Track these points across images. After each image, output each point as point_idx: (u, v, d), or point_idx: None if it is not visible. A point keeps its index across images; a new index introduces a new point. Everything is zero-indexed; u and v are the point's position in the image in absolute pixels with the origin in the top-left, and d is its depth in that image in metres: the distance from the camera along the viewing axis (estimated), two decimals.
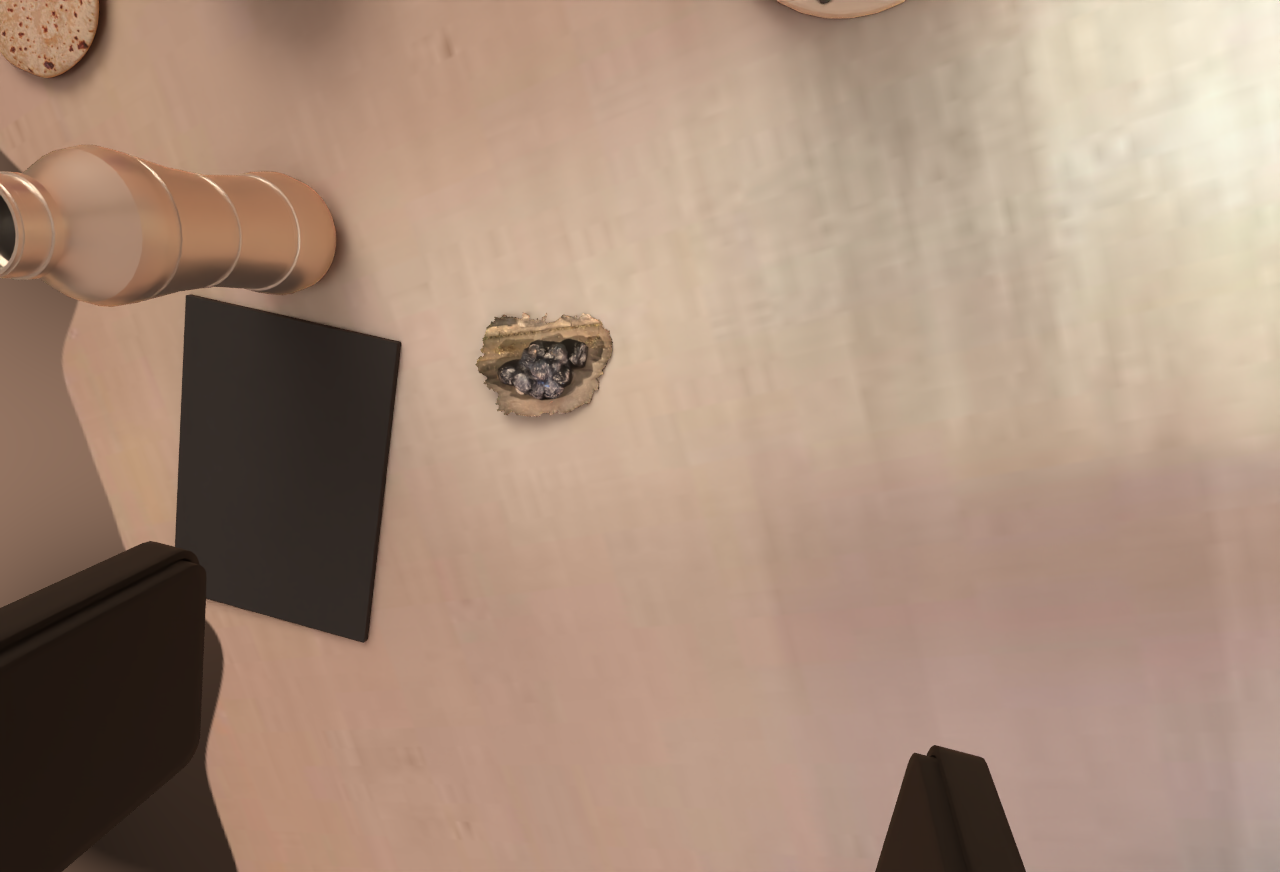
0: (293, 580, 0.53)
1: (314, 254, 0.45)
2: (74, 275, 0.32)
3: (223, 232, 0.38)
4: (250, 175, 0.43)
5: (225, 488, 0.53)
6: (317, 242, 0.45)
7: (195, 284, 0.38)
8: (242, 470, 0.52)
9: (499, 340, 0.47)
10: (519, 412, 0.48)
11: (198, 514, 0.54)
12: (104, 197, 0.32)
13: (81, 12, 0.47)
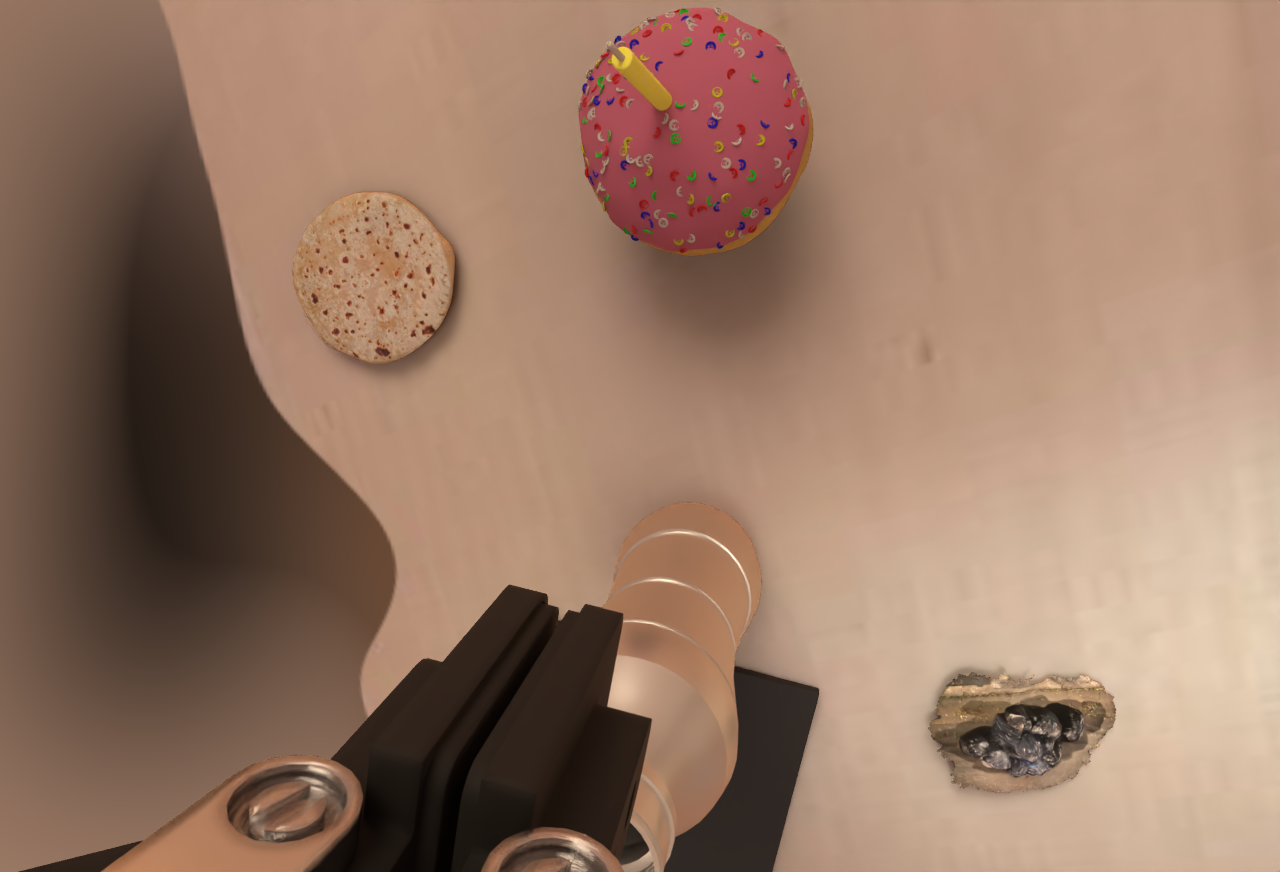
0: None
1: (752, 615, 0.35)
2: None
3: None
4: (689, 531, 0.33)
5: None
6: None
7: None
8: None
9: (961, 700, 0.37)
10: (981, 786, 0.38)
11: None
12: (693, 740, 0.22)
13: (432, 293, 0.37)
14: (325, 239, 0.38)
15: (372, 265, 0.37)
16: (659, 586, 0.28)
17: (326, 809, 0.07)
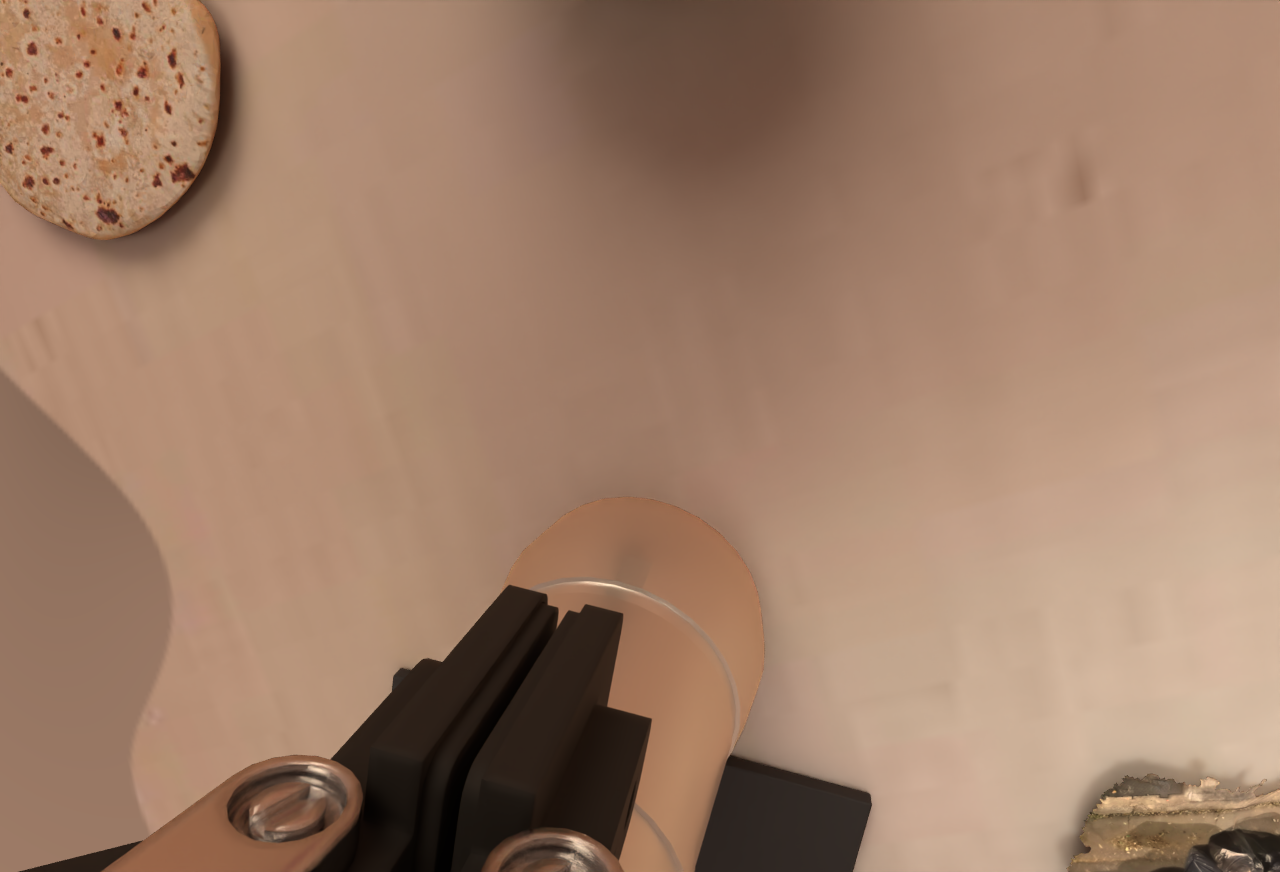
0: None
1: (747, 715, 0.19)
2: None
3: None
4: (611, 582, 0.16)
5: None
6: (752, 684, 0.19)
7: None
8: None
9: (1127, 821, 0.21)
10: None
11: None
12: None
13: (181, 103, 0.21)
14: None
15: (77, 56, 0.21)
16: None
17: (325, 809, 0.07)
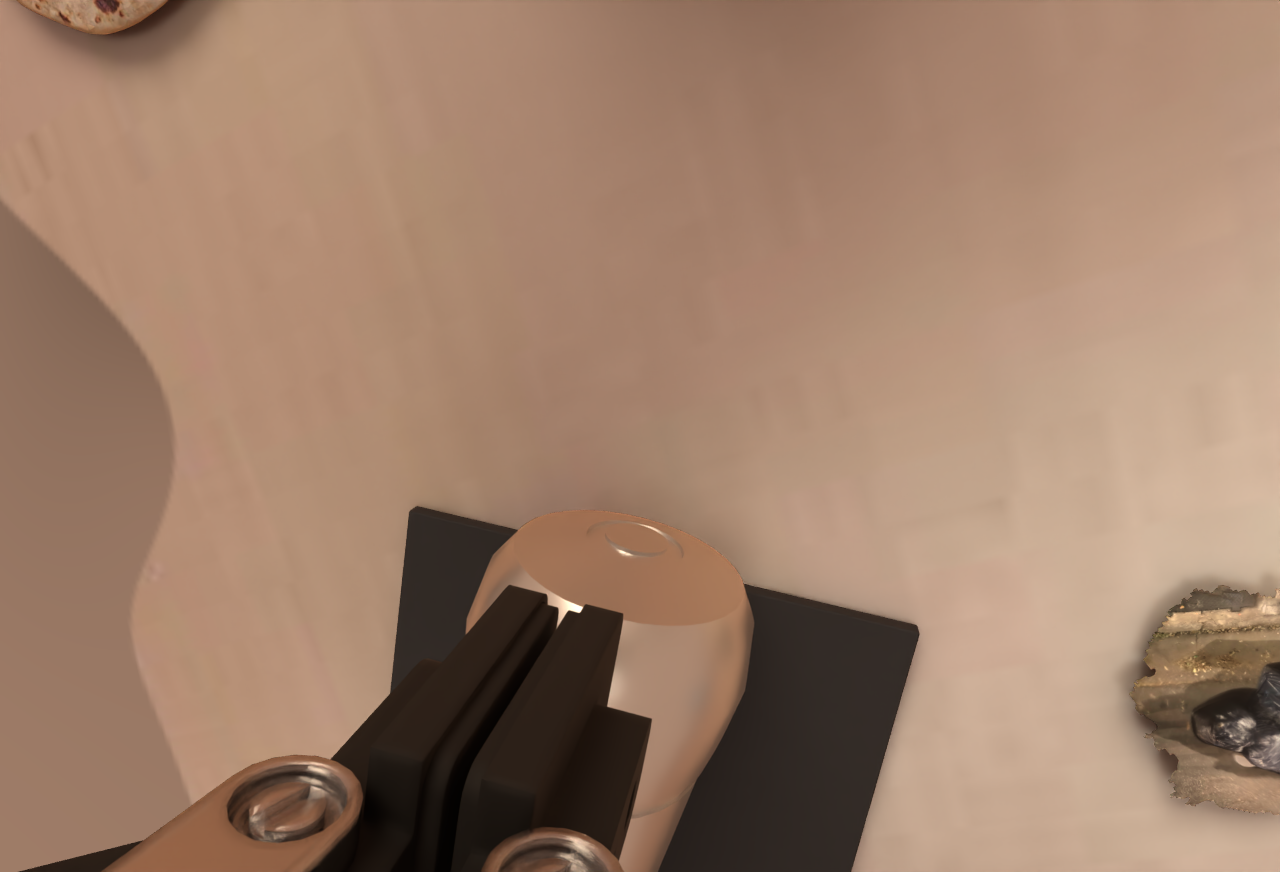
0: None
1: None
2: None
3: None
4: None
5: None
6: None
7: None
8: None
9: (1195, 640, 0.20)
10: (1228, 802, 0.20)
11: None
12: None
13: None
14: None
15: None
16: None
17: (326, 810, 0.07)
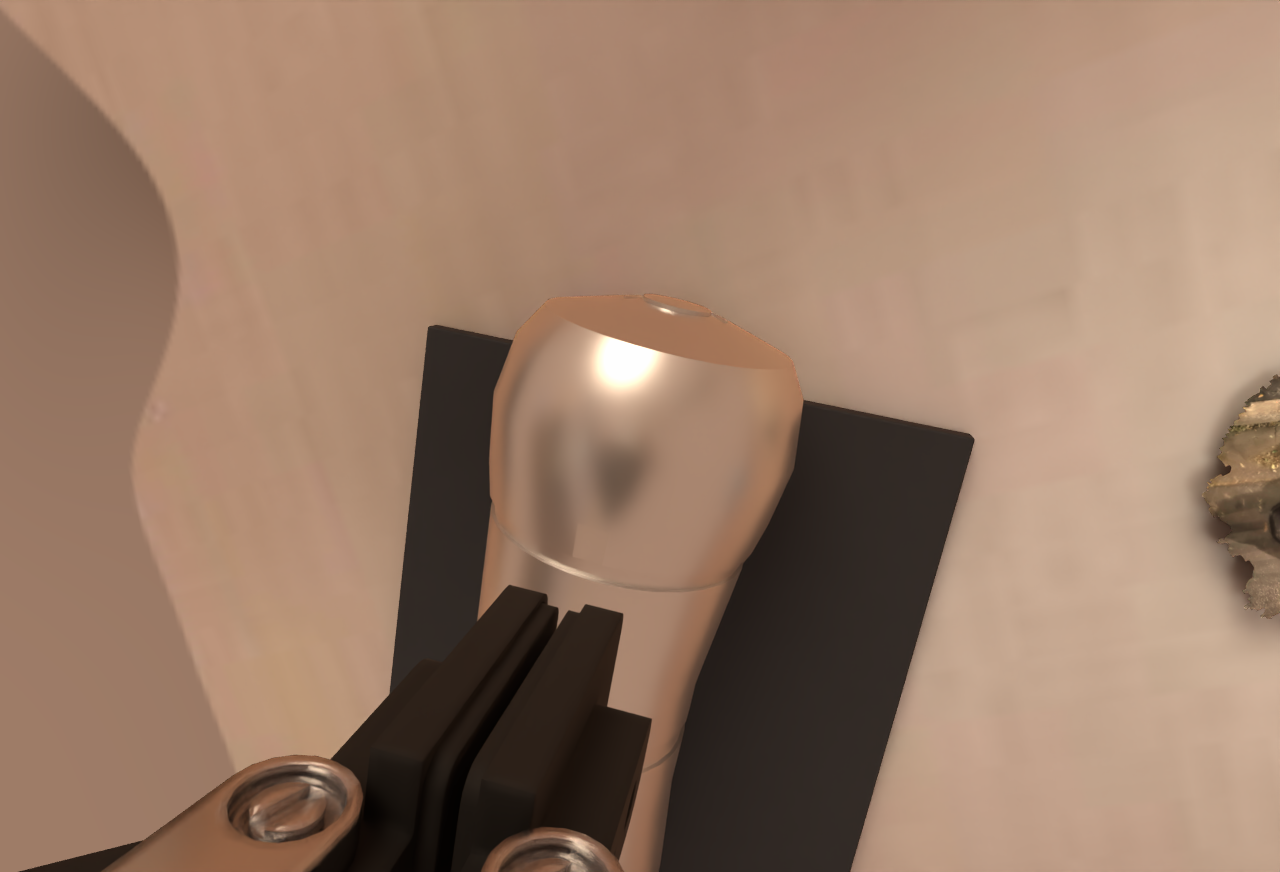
0: None
1: None
2: None
3: (668, 779, 0.19)
4: (570, 554, 0.15)
5: None
6: None
7: None
8: None
9: (1274, 434, 0.18)
10: None
11: None
12: None
13: None
14: None
15: None
16: None
17: (325, 809, 0.07)
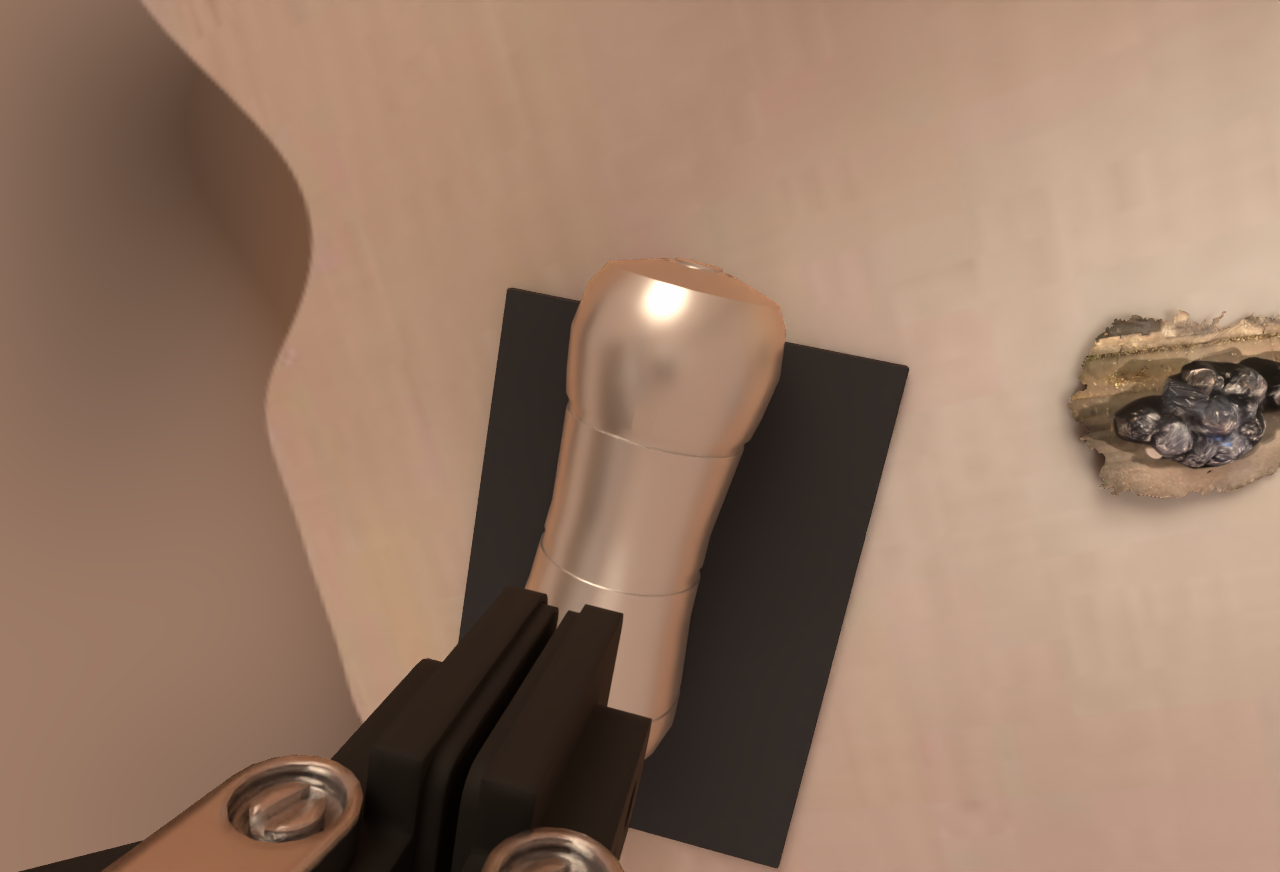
0: (660, 765, 0.32)
1: None
2: None
3: (689, 608, 0.26)
4: (629, 429, 0.23)
5: None
6: None
7: None
8: None
9: (1116, 361, 0.26)
10: (1143, 490, 0.27)
11: None
12: None
13: None
14: None
15: None
16: (578, 595, 0.24)
17: (325, 809, 0.07)
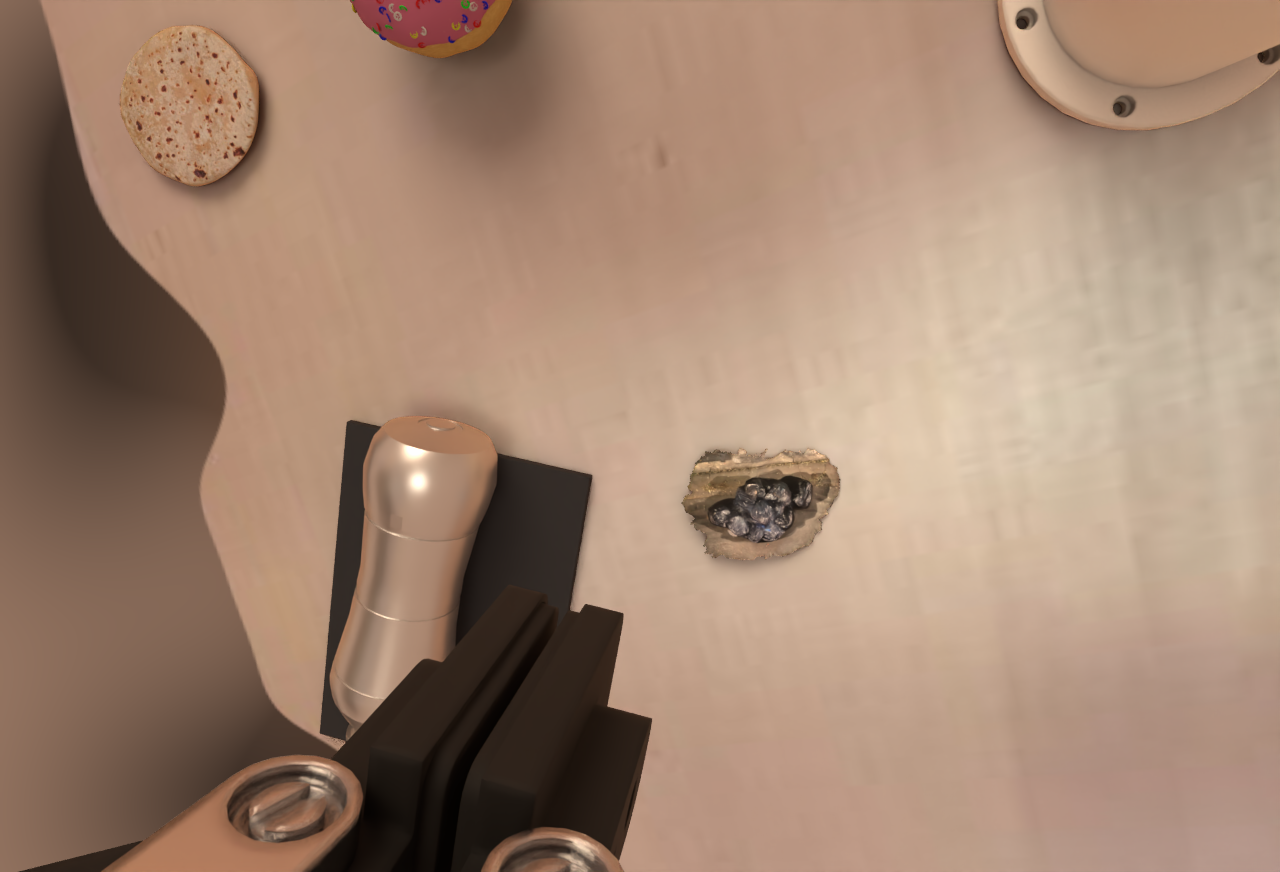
0: None
1: (488, 503, 0.41)
2: None
3: (447, 627, 0.42)
4: (389, 526, 0.39)
5: None
6: (482, 502, 0.41)
7: None
8: None
9: (709, 476, 0.42)
10: (730, 555, 0.43)
11: None
12: None
13: (239, 116, 0.42)
14: (146, 70, 0.42)
15: (187, 93, 0.42)
16: (369, 620, 0.41)
17: (325, 810, 0.07)
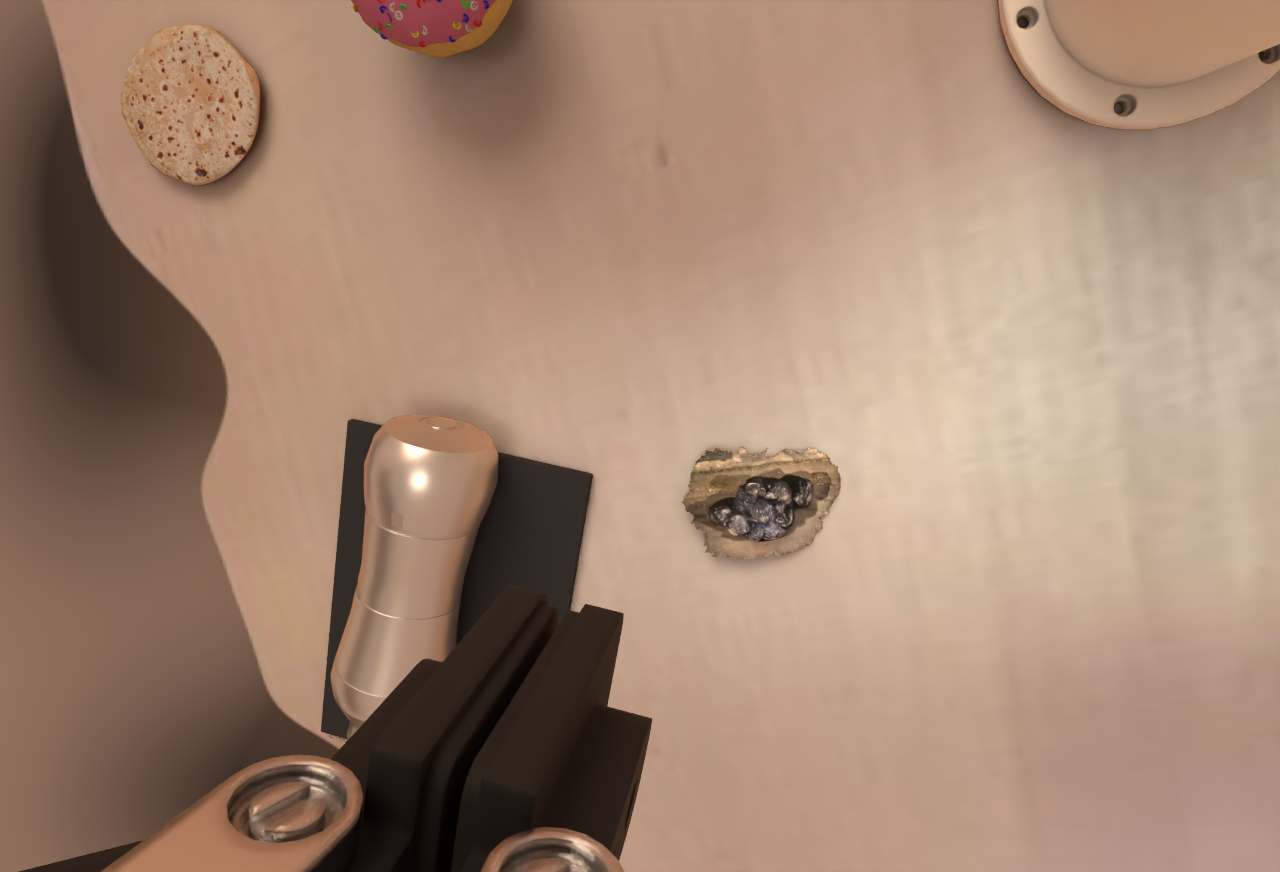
0: None
1: (489, 502, 0.41)
2: None
3: (448, 626, 0.43)
4: (390, 524, 0.39)
5: None
6: (483, 500, 0.41)
7: None
8: None
9: (709, 475, 0.42)
10: (730, 554, 0.43)
11: None
12: None
13: (240, 115, 0.42)
14: (147, 69, 0.42)
15: (188, 92, 0.42)
16: (370, 619, 0.41)
17: (326, 809, 0.07)
